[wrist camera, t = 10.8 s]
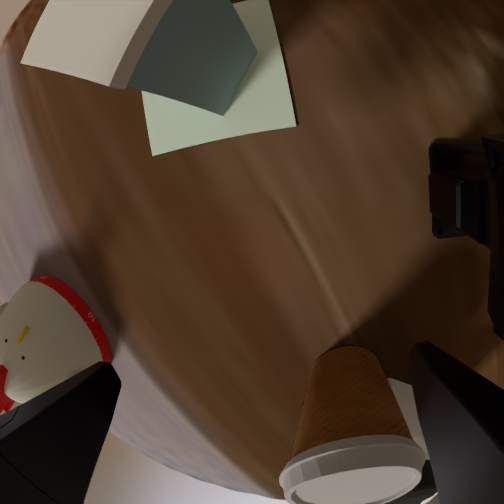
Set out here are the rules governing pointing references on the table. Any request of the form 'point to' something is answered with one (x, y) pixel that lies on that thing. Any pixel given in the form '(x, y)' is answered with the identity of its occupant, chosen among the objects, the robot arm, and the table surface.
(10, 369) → the kitchen timer
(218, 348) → the table surface
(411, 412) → the medicine bottle
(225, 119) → the plate
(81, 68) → the tea tin
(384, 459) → the disposable coffee cup
